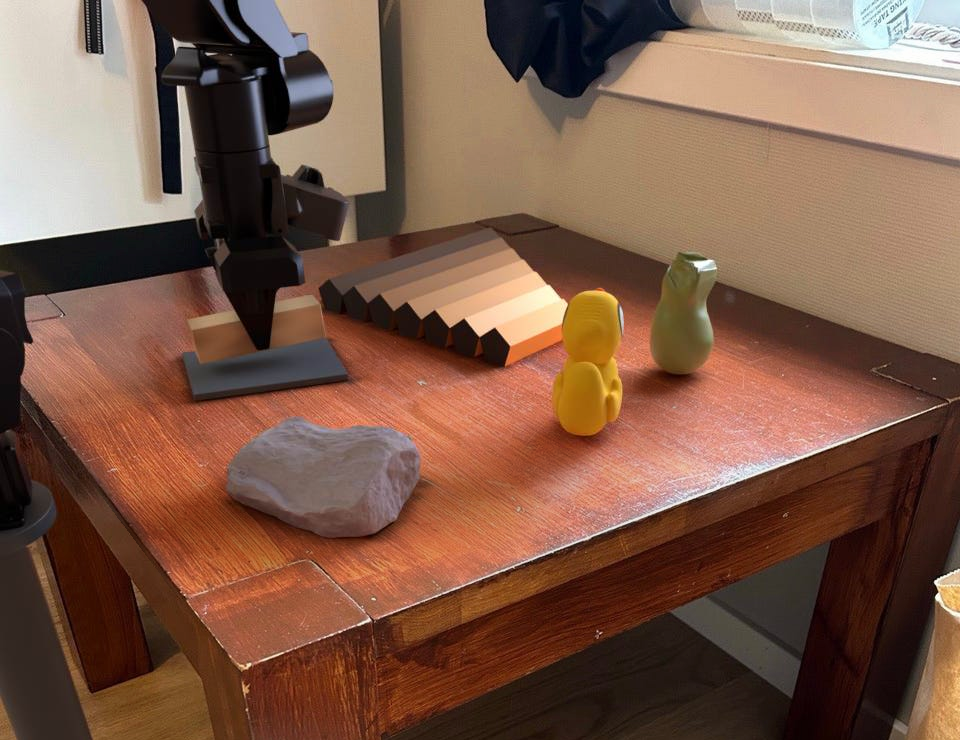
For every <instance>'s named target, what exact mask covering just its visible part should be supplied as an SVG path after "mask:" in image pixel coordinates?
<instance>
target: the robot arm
mask: <svg viewBox="0 0 960 740" xmlns="http://www.w3.org/2000/svg"><path fill="white" fill-rule="evenodd" d="M141 2H142V3H143V5H145V7H146V8H147V9H148V11H149V12H150V13H151V15H152V16H153V17H154V18H155V20H156V21H157V22H158V24H159V25H160V26H161V28H162V29H163V30H164V31H165V32H166V34H168V36H170V37H171V38H172V39H174V40H175V41H177V42H178V43H182V44H183V43H184V44H191V45H192V46H178V47H177V48H176V51H175V54H174V56H173V58H172V60H171V61H170V62H169V63H168V64H167V65H166V66H165V68H164V69H163V72H162V74H161V77H160V78H161V79H160V80H161V82H162V84H163V85H165V86H174V87H175V86H176V87H183V89H184V94H185V101H186V105H187V111H188V112H187V113H188V117H189V125H190V130H191V136H192V143H193V149H194V156H193V162H194V168H195V172H196V174H197V176H198V180H199V186H200V191H201V192H200V193H201V197H202V199H201V201H200V203H199V204H198V205H197V206H196V207H195V209H194V217H195V222H196V228H197V229H196V230H197V233H198V236H199V238H200V240H201V241H204V240H209V237H210V239H211V240H214V241H213V242H214V246H212V247H207V248H205V253H206V257H207V258H208V260H209V262H210V265H211V266H212V268H213V270H214V275H215V277H216V279H217V282H218V284H219V286H220V287H221V290H222V292H223V293H224V294H225V296H226V298H227V299H228V300H227V301H229V304H230V305H231V307H232V308H233V310H235V312H236V314H237V316H238V317H239V319H240V321H241V322H242V324H243V326H244V328H245V330H246V331H247V333H248V335H249V337H250V339H251V340H252V342H253V344H254V346H255V348H256V349H257V350H266V349H269V347H270V340H271V331H272V323H273V314H274V306H275V302H276V300H277V299H276V298H277V293H278V292H279V290H280V289H282V288H292V287H300V286H303V285H304V284H306V277H305V267H304V260H303V259H304V258H303V257H302V255H301V253H300V252H299V251H298V250H297V248H296V247H295V246H294V245H293V244H292V243H290V241H289V240H288V239H286V238H285V237H284V236H282V235H289V234H290V231H289V226H291V227H293V228H297V229H300V230H304V231H307V232H310V233H314V234H318V235H322V236H324V238H325V239H326V240H330V241H334V242H339V241H341V239H342V238H341V237H342V234H343V229H344V226H345V222H346V218H347V214H348V210H349V206H350V201H349V200H348V199H347V198H346V197H345V196H344V195H343V194H342V193H341V192H340V191H337V190H335V189H334V188H333V187H330V186H328V187H326V186H325V181H324V177H323V173H322V172H321V171H320V170H319V169H318V168H316V167H313V166H308V165H305V164H301V165H299V167H298V169H296V171H295V172H294V173H293V174H292V175H290V174H286V175H284V174H282V171H281V167H280V165H278V164H277V163H276V162H275V160H274V158H273V157H272V153H271V146H270V145H271V144H270V138H269V137H270V136H275V135H281V134H284V133H286V132H290V131H291V132H292V131H295V130H298V129H302V128H305V127H309V126H313V125H316V124H318V123H321V122H323V121H324V120H325V119H326V117H328V115H329V113H330V111H331V109H332V106H333V102H334V83H333V80H332V79H331V77H330V74H329V72H328V69H327V67H326V65H325V64H324V62H323V60H321V58H320V57H319V56H318V55H317V54H316V53H314V52H313V51H312V50H310V44H309V36H308V34H307V32H295V31H291V30H290V28H289V27H288V25H287V22H286V20H285V19H284V17H283V15H282V13H281V11H280V9H279V7H278V4H277V3H276V1H275V0H141ZM269 235H272V236H269ZM25 300H26V289H25V285H24V282H23V278H22V276H21V274H19V273H18V272H11V271H7V270H1V269H0V531H3V530H9V529H15V528H20V527H22V526H24V525H25V524H26V510H27V506H28V505H30V503H31V502H32V482H31V480H32V479H31V476H30V473H29V470H28V467H27V464H26V461H25V457H24V454H23V451H22V448H21V444H20V441H19V437H18V435H17V432H15V431H13V430H12V429H15V428H16V427H18V426H19V425H20V424H21V403H22V402H21V398H22V397H21V392H22V391H21V390H22V376H23V374H24V370H25V366H26V345H25V344H29V345H32V344H33V343H34V338H33V337H32V334H31V332H30V330H29V328H28V323H27V318H26V310H25V309H26V307H25V306H26V304H25V303H26V301H25Z"/></svg>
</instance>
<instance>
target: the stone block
mask: <svg viewBox="0 0 960 740" xmlns="http://www.w3.org/2000/svg"><path fill="white" fill-rule="evenodd" d="M421 459H422V458H421V453H420V451H419V450H418V448H417V446H416V444H415V443H414V441H413V438H412V437H411V435H407V434H406V433H402V432H400V431H398V430H396V429H395V428H393V427H391V426H384V425H383V426H382V425H377V426H376V425H375V426H373V425H371V426H370V425H362V424H358V425H354V426H351V427H345V428H336V429H335V428H330V427H329V426H326V425H316V424H314V423H312V422H310V421H309V420H307V419H306V418H304V417H302V416H295V415H293V416H288V417H286V418H284V419H283V420H281V421H280V422H279V423H277V424H276V425H275V426H273V427H270V428H268V429H265V430H263V431H262V432H261V433H259V434H257V435H255V436H254V437H253V438H252V439H251V440H249V441H247V442H246V444H244V445H243V446H241V448H239V450H238V451H237V452H236V454H235V455H234V456H233V458H232V459H231V460H230V462H229V463H228V465H227V467H226V479H227V481H226V487H225V490H226V491H225V492H226V494H228V495H229V496H231V497H232V499H233V500H235V501H237V502H239V503H241V504H242V505H243V506H246V507H249V508H251V509H255V510H257V511H260V512H261V513H264V514H266V515H270V516H274V517H275V518H277V519H278V520H280V521H282V522H284V523H286V524H288V525H290V526H293V527H296V528H298V529H301V530H305V531H310V532H312V533H313V534H315V535H318V536H320V537H322V538H327V539H328V538H329V539H336V538H362V537H365V536H370V535H373V534H376V533H378V532H379V531H381V530H382V529H384V528H385V527H387V526H388V525H390V524H392V523H393V522H396V521H397V519H398V517H399V514H400V513H401V511H402V508H403V506H404V505H405V503H406V502H407V501H408V500H409V499H410V496H411V494H412V492H413V490H414V489H415V488H416V487H417V485H418V483H419V482H420V474H421V473H420V471H421Z"/></svg>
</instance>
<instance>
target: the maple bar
mask: <svg viewBox="0 0 960 740" xmlns="http://www.w3.org/2000/svg"><path fill="white" fill-rule="evenodd" d="M186 323H187V326H188V329H189V330H188V331H189V333H190V338H191V341H192V345H193V348H194V351H195V353H196V355H197V357H198V360H199V362H200V364H205V363H209V362H214V361H219V360H223V359H228V358H233V357H238V356H242V355H247V354H252V353H256V352H261V351H266V350H270V349H275V348H280V347H284V346H289V345H294V344H298V343H303V342H308V341H313V340H317V339H322V338H326V339H327V333H326V328H325V322H324V315H323V311H322V305H321V303H320V302H319V300H317V298H316V297H315V296H314V295H313V294H307V295H302V296H297V297H293V298H287V299H282V300H276V301H275V306H274V314H273V323H272V331H271V340H270V347H269V349H266V350H257V349H256V348H255V346H254V344H253V342H252V340H251V339H250V337H249V335H248V333H247V331H246V330H245V328H244V326H243V324H242V322H241V321H240V319H239V317H238V316H237V314H236V312H235V310H234V309H233V310H227V311H222V312H217V313H213V314H207V315H201V316H197V317H194V318H189V319H186Z"/></svg>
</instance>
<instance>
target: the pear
mask: <svg viewBox="0 0 960 740" xmlns="http://www.w3.org/2000/svg"><path fill="white" fill-rule="evenodd" d="M717 272H718V268H717V264H716V262H715V260H713V259H709V258H708V257H706V256H704V255H703V254H701V253H699V252H682V251H677V254H676V257H675V259H673V260H672V264H671V265H669V267H667V269H666V271H665V274H664V275H663V279H662V283H661V296H660V299H659V301H658V303H657V304H656V307H655V309H654V312H653V316H652V320H651V325H650V331H649V350H650V355H651V358H652V360H653V361H654V363H655V365H656V366H657V367H659V368H660V369H661V370H663V371H664V372H666V373H669V374H673V375H688V374H691V373H695V372H697V371H698V370H700V369H701V368H703V366H704V365H705V364H707V362H708V360H709V359H710V357H711V355H712V352H713V349H714V343H715V338H714V332H713V331H714V330H713V326H712V323H711V320H710V316H709V314H708V311H707V310H708V309H707V298H708V297H709V294H710V292H711V290H712V289H713V287H714V285H715V283H716V280H717Z"/></svg>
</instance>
